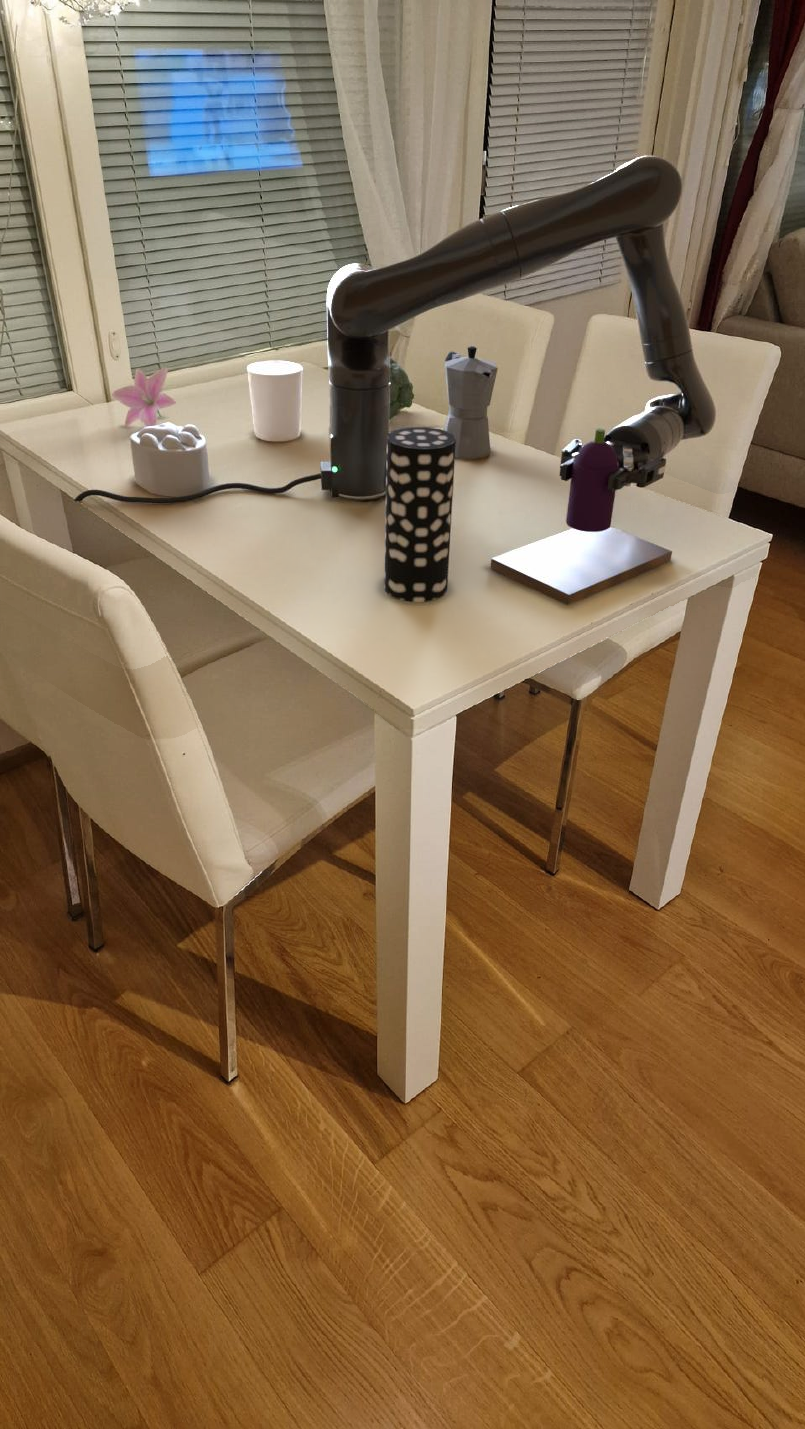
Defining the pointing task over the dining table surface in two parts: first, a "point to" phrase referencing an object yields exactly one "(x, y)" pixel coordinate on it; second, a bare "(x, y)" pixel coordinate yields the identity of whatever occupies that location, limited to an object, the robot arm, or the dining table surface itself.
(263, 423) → the candle holder
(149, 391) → the lily
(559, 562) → the cutting board
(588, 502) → the eggplant
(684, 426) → the robot arm
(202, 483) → the lumpy-topped squat cylinder
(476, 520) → the dining table surface
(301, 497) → the dining table surface
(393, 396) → the vegetable
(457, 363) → the coffeepot
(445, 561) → the spotted tube
